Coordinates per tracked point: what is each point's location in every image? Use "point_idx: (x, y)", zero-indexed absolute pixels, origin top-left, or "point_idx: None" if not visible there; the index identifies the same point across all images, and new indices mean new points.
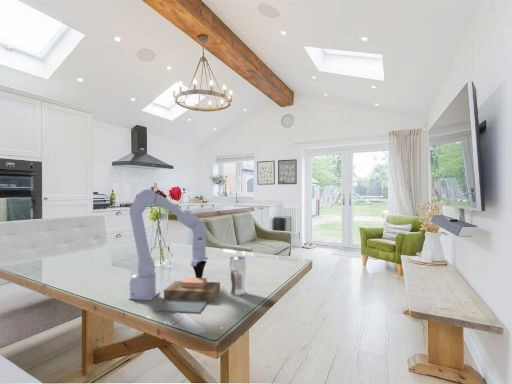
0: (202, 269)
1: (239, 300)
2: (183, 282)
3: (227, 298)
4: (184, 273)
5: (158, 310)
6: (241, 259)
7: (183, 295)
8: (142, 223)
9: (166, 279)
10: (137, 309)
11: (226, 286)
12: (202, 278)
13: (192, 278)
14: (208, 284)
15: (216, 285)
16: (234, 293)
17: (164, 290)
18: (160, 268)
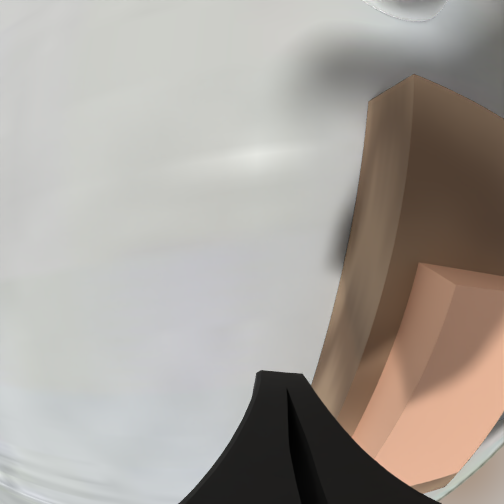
0: (350, 474)
1: (488, 9)
2: (468, 457)
3: (482, 64)
4: (3, 417)
5: None
6: None
7: None
8: None
9: (107, 490)
10: (466, 469)
11: (206, 48)
12: (450, 345)
13: (403, 450)
14: (473, 228)
15: (498, 128)
16: (447, 1)
17: (445, 483)
18: (12, 475)
